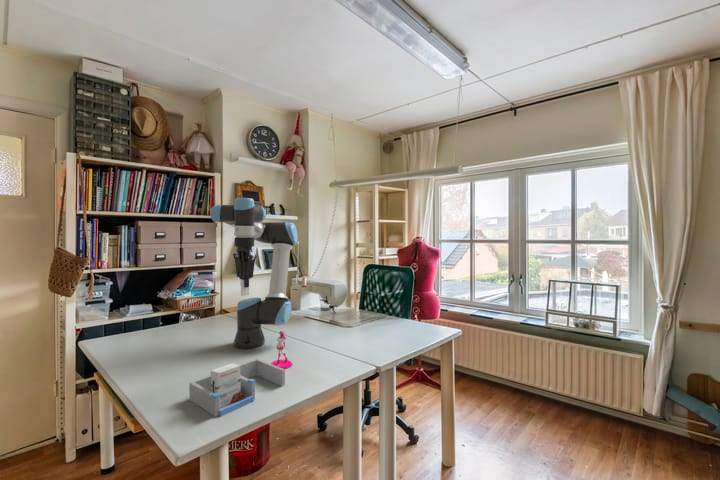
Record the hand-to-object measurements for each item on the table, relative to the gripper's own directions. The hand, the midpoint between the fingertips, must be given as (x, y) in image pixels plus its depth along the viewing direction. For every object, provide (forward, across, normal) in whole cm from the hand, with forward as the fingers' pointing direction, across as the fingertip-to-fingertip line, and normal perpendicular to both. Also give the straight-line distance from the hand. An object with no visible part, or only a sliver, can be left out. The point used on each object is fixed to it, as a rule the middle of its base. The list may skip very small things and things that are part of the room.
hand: (244, 295), depth 137 cm
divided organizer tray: (+32, +12, -10) cm, 36 cm away
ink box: (+33, +14, -17) cm, 39 cm away
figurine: (+33, +4, +15) cm, 36 cm away
